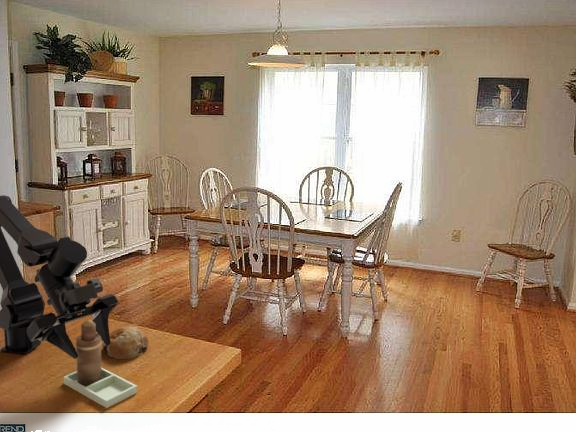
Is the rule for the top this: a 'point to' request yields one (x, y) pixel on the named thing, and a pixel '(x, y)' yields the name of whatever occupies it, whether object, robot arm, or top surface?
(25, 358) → the top surface
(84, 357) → the pepper mill
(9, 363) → the top surface
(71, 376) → the caddy
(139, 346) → the bread roll
